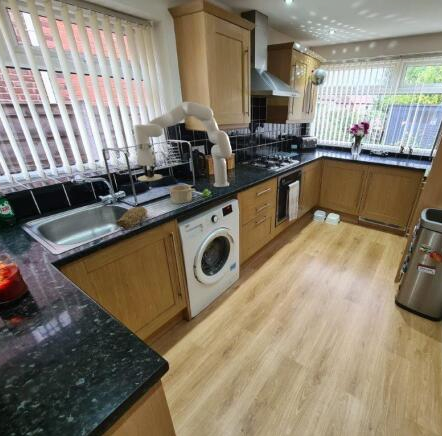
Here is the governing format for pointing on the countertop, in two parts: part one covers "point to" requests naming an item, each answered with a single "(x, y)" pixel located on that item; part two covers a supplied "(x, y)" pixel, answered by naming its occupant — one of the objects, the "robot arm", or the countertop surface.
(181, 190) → the pot
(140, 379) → the countertop surface
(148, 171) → the lid
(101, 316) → the countertop surface
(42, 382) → the countertop surface
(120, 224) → the brown hedgehog
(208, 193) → the grapes
